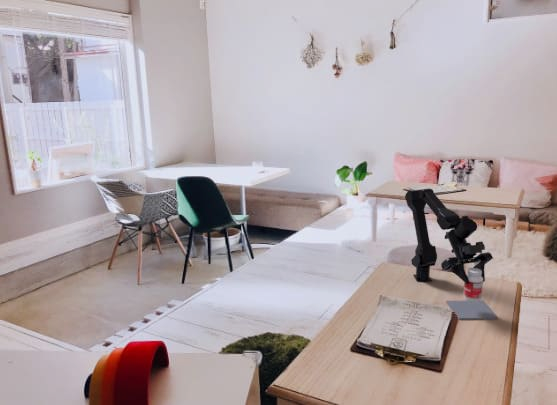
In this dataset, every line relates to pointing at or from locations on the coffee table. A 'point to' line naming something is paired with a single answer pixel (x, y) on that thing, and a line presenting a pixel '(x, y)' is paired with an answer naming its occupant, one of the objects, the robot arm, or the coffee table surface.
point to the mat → (472, 310)
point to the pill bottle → (473, 285)
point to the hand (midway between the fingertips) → (476, 282)
